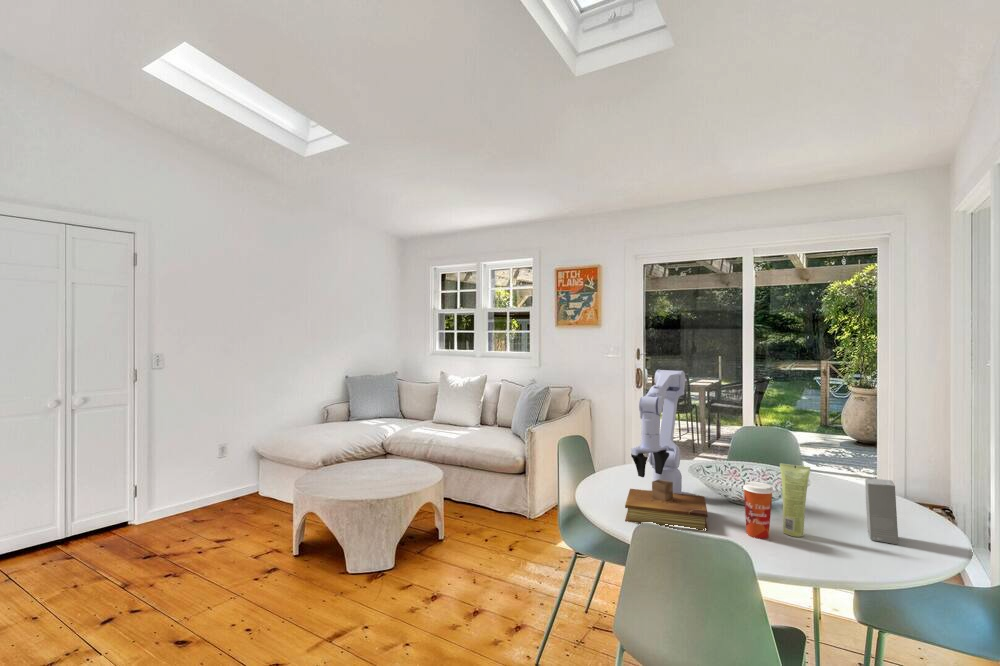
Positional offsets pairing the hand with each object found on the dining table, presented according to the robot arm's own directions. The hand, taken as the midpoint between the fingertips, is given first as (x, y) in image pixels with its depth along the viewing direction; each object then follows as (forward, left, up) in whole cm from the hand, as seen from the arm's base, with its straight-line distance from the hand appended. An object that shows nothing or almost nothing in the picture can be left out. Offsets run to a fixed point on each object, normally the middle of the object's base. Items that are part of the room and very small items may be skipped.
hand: (650, 475), depth 168 cm
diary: (+1, +9, -11) cm, 14 cm away
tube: (-21, +35, -11) cm, 42 cm away
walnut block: (+1, +7, -5) cm, 9 cm away
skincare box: (-41, +47, -11) cm, 63 cm away
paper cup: (-11, +31, -11) cm, 35 cm away
